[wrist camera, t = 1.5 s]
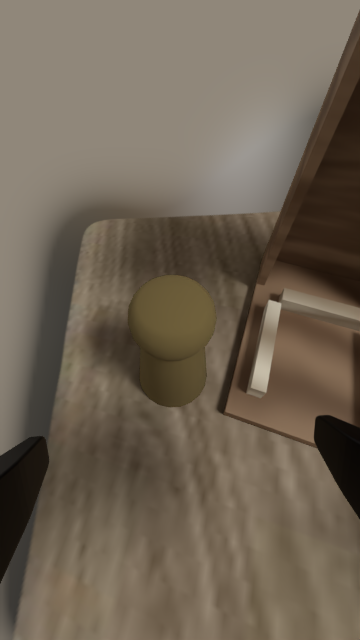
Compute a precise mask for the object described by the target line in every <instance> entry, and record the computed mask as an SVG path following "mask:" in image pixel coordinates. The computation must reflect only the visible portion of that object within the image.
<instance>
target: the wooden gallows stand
mask: <svg viewBox="0 0 360 640" xmlns="http://www.w3.org/2000/svg"><path fill="white" fill-rule="evenodd" d="M223 415H226V416H229V417H232V418H235V419H237V420H240V421H243V422H246V423H248V424H251V425H254V426H257V427H260V428H262V429H265V430H268V431H271V432H274V433H276V434H279V435H282V436H285V437H288V438H290V439H293V440H296V441H299V442H301V443H304V444H307V445H310V446H313V447H315V448H317V446H316V444H315V442H314V426H315V418H316V417H317V416H318V415H331V416H334V417H336V418H338V419H341V420H343V421H345V422H348V423H350V424H352V425H355V426H357V427H360V11H359V13H358V16H357V18H356V21H355V24H354V26H353V29H352V31H351V34H350V36H349V39H348V41H347V44H346V46H345V49H344V51H343V54H342V56H341V59H340V62H339V64H338V67H337V69H336V72H335V74H334V77H333V79H332V82H331V84H330V87H329V90H328V92H327V95H326V97H325V100H324V102H323V105H322V108H321V110H320V113H319V115H318V118H317V120H316V123H315V125H314V128H313V130H312V133H311V136H310V138H309V140H308V143H307V146H306V148H305V151H304V153H303V156H302V158H301V161H300V163H299V166H298V168H297V171H296V174H295V176H294V179H293V181H292V184H291V187H290V189H289V191H288V194H287V196H286V199H285V202H284V204H283V207H282V209H281V212H280V214H279V217H278V219H277V222H276V224H275V227H274V230H273V232H272V235H271V237H270V240H269V242H268V245H267V247H266V250H265V252H264V255H263V258H262V261H261V265H260V269H259V273H258V277H257V281H256V285H255V289H254V293H253V297H252V301H251V305H250V309H249V313H248V317H247V321H246V325H245V329H244V333H243V337H242V341H241V345H240V349H239V353H238V357H237V361H236V365H235V369H234V373H233V377H232V381H231V385H230V388H229V392H228V396H227V400H226V404H225V408H224V412H223Z"/></svg>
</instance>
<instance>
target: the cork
mask: <svg viewBox="0 0 360 640" xmlns="http://www.w3.org/2000/svg"><path fill="white" fill-rule="evenodd" d="M216 319H217V317H216V312H215V306H214V301H213V300H212V298H211V296H210V295H209V293H208V291H207V290H206V289H205V288H203V287H202V286H201V285H200V284H199V283H198V282H196V281H194V280H192V279H190V278H188V277H185V276H180V275H163V276H160V277H156V278H153V279H152V280H150V281H148V282H147V283H145V284H144V285H143V286H142V287H141V288H140V289H139V290H138V291H137V292H136V293H135V294H134V296H133V298H132V300H131V302H130V305H129V309H128V325H129V328H130V331H131V334H132V337H133V339H134V341H135V342H136V343H137V344H138V345H139V347H140V379H139V380H140V383H141V386H142V389H143V391H144V392H145V393H146V395H147V396H148V397H149V399H151V400H152V401H154V402H156V403H157V404H159V405H162V406H166V407H181V406H183V405H186V404H188V403H190V402H192V401H193V400H194V399H195V398H197V397H198V396H199V395H200V393H201V391H202V390H203V388H204V386H205V382H206V377H207V373H206V358H205V346H206V345H207V343H208V342H209V340H210V339H211V337H212V335H213V332H214V329H215V324H216Z"/></svg>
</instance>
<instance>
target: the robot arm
mask: <svg viewBox="0 0 360 640" xmlns="http://www.w3.org/2000/svg"><path fill="white" fill-rule="evenodd" d="M314 442H315V444H316V446H317V448H318V450H319V452H320V454H321V456H322V457H323V459H324V461H325V463H326V465H327V467H328V468H329V470H330V472H331V474H332V476H333V478H334V479H335V481H336V483H337V485H338V486H339V488H340V490H341V491H342V493H343V495H344V496H345V498H346V499H347V501H348V502H349V504H350V505H351V507H352V508H353V510H354V511H355V513H356V514H357V516H358V517H359V519H360V427H357V426H355V425H352V424H350V423H348V422H345V421H343V420H341V419H338V418H336V417H334V416H331V415H318V416H317V417H316V418H315V426H314ZM48 464H49V455H48V449H47V444H46V439H45V438H44V437H43V436H37V437H30V438H28V439H27V440H25V441H23V442H22V443H20V444H18V445H17V446H15V447H14V448H12V449H11V450H9V451H7V452H6V453H4V454H3V455H1V456H0V583H1V581H2V579H3V576H4V574H5V572H6V570H7V568H8V565H9V563H10V561H11V559H12V557H13V554H14V552H15V550H16V548H17V546H18V543H19V541H20V539H21V537H22V535H23V532H24V530H25V528H26V526H27V523H28V521H29V519H30V516H31V513H32V511H33V508H34V505H35V502H36V499H37V497H38V494H39V491H40V488H41V485H42V482H43V479H44V476H45V474H46V471H47V468H48Z"/></svg>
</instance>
